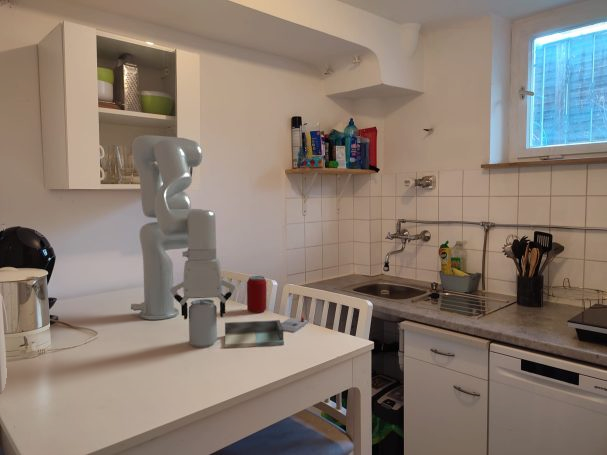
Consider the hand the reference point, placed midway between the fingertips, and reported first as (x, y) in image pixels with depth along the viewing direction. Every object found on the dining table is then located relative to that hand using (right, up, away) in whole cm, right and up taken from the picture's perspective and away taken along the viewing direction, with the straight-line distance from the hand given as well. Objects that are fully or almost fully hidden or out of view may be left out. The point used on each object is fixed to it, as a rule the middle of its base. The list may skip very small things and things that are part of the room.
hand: (203, 317), depth 122 cm
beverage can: (+11, -5, +35) cm, 37 cm away
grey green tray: (+13, -7, +4) cm, 16 cm away
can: (0, -8, +1) cm, 8 cm away
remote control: (+24, -7, +18) cm, 31 cm away
